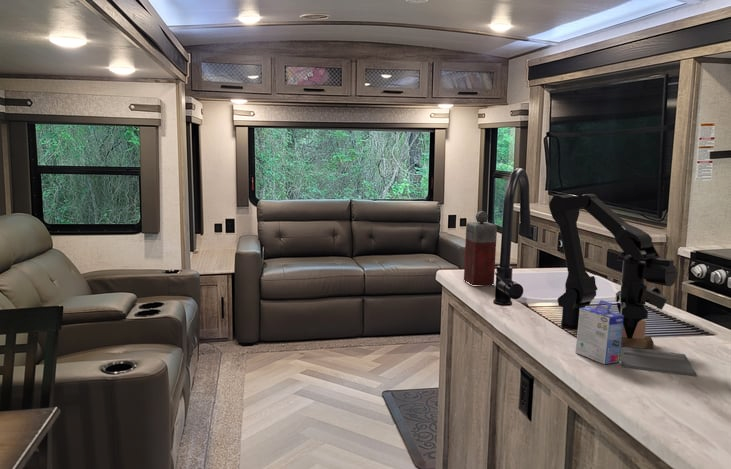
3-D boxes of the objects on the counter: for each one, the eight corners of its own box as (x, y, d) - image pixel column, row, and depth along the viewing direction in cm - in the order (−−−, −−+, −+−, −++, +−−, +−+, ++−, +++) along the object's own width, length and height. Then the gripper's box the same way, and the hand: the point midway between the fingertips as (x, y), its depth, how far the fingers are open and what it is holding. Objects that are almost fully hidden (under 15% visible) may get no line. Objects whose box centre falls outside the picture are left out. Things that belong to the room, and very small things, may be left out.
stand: (604, 343, 162) (605, 337, 162) (603, 337, 167) (603, 331, 167) (653, 349, 159) (653, 342, 158) (649, 342, 164) (650, 336, 164)
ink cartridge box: (621, 362, 148) (626, 306, 146) (605, 365, 146) (610, 308, 144) (589, 350, 157) (594, 296, 155) (574, 353, 154) (578, 298, 152)
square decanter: (482, 279, 237) (485, 209, 233) (494, 285, 227) (498, 212, 222) (461, 279, 236) (464, 209, 231) (472, 286, 225) (475, 212, 220)
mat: (623, 367, 145) (623, 362, 145) (617, 348, 158) (618, 344, 158) (696, 376, 140) (697, 371, 140) (684, 356, 153) (685, 351, 153)
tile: (611, 342, 164) (613, 317, 163) (611, 340, 165) (613, 316, 164) (643, 345, 161) (645, 320, 160) (643, 344, 162) (645, 319, 161)
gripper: (672, 289, 149) (666, 349, 151) (660, 274, 167) (655, 328, 169) (624, 285, 152) (619, 343, 155) (617, 271, 170) (613, 323, 172)
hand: (628, 334), depth 163 cm, fingers open, 7 cm apart
